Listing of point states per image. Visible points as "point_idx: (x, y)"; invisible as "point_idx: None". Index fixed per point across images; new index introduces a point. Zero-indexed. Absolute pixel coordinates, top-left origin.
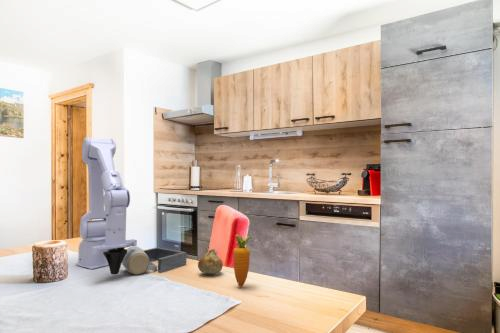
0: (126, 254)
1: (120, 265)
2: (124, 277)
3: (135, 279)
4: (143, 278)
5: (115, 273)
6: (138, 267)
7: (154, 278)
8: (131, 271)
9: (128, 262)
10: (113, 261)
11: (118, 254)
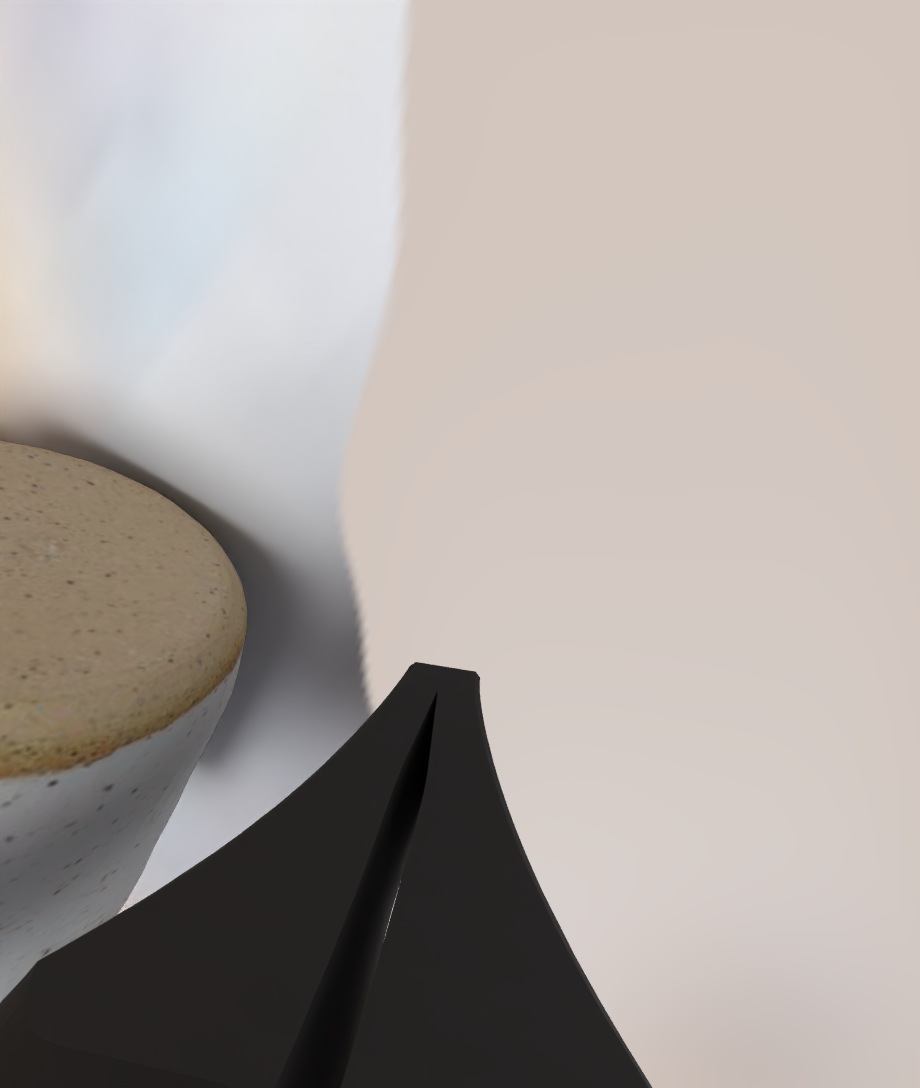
0: (10, 945)
1: (364, 733)
2: (354, 583)
3: (326, 376)
4: (216, 294)
5: (468, 678)
6: (87, 531)
7: (87, 93)
8: (231, 570)
9: (176, 705)
10: (526, 883)
11: (430, 1055)
